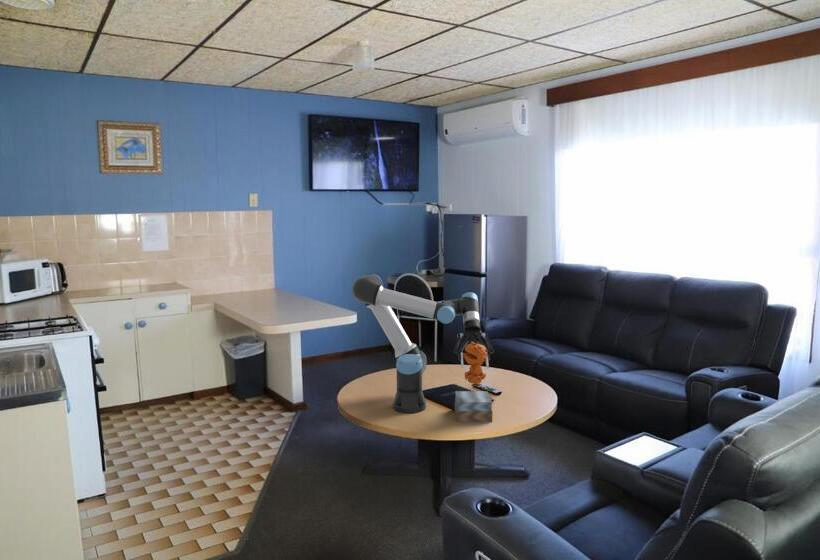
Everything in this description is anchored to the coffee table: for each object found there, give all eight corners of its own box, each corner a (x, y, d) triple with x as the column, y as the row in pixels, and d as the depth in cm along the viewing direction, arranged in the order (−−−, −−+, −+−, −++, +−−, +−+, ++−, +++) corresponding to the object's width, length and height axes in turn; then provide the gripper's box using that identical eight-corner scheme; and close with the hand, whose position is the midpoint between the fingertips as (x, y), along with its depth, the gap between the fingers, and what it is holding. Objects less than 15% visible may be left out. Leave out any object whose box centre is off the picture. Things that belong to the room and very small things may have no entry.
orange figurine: (460, 377, 263) (462, 337, 260) (485, 377, 263) (487, 338, 260) (462, 385, 252) (463, 344, 249) (487, 386, 252) (489, 345, 249)
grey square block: (457, 421, 252) (457, 402, 251) (454, 409, 267) (454, 391, 266) (492, 421, 252) (492, 402, 251) (487, 409, 267) (488, 391, 266)
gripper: (495, 327, 270) (500, 371, 256) (446, 328, 270) (448, 371, 257) (497, 318, 264) (502, 362, 250) (446, 318, 264) (448, 362, 251)
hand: (474, 366), depth 253 cm, fingers closed on orange figurine, 10 cm apart
